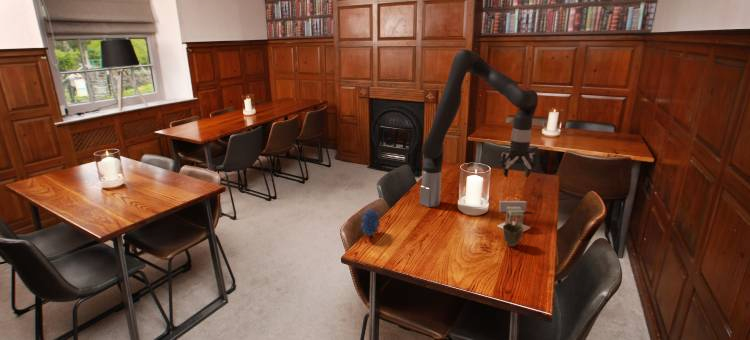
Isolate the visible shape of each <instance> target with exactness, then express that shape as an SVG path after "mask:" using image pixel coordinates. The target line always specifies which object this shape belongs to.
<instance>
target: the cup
mask: <svg viewBox="0 0 750 340" xmlns="http://www.w3.org/2000/svg"><path fill="white" fill-rule="evenodd" d="M502 233H503V239H504V241H505V242H506V245H507V246H508V247H511V248H514V247H516V246H517V244H518V243H520V241H521V239H522V235H523V233H524V232H523V229H522V227H521V226H520V225H517V224H515V226H514V225H512V223H511V224H509V223H508V224H507V225H506V224H505V226H503V229H502Z"/></svg>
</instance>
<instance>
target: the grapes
mask: <svg viewBox="0 0 750 340" xmlns="http://www.w3.org/2000/svg"><path fill="white" fill-rule="evenodd" d="M379 219H380V214H379V213H377V210H375V209H373V208H372V209H367V210H366V211H365V214H363V215H362V217H361V220H362V221H363V222H361V224H360V227H361V228H362V232H363V234H364V235H365V236H366V235H367V236H369V237H372V236H373V235H374V234H375V233H377V232H378V228H379V226H380V224H381V223H380V221H379Z"/></svg>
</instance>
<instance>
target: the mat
mask: <svg viewBox="0 0 750 340" xmlns="http://www.w3.org/2000/svg"><path fill="white" fill-rule="evenodd" d="M512 225H514V226H515V220H513V223H512ZM503 226H505V221H504V222H502V223H500V224H498V225H497V226H496V227H497V228H499V229H502V230H503ZM522 229H523V232H522V233H524V232H525V231H528V230H529V229H531V226H529V225H526V224H522Z"/></svg>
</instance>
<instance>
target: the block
mask: <svg viewBox="0 0 750 340" xmlns="http://www.w3.org/2000/svg"><path fill="white" fill-rule="evenodd" d="M507 207H520V208H521V209H522V210H523V211H524V213H526V211H527V210H526V209H527V201H526V200H500V201H499V207H498V211H499V213H506V211H507Z"/></svg>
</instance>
